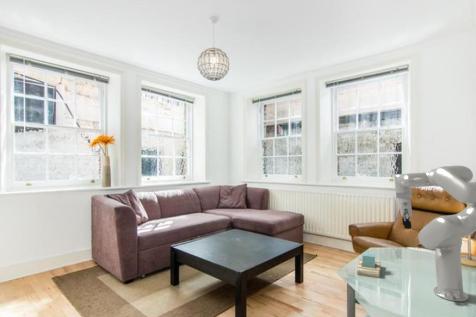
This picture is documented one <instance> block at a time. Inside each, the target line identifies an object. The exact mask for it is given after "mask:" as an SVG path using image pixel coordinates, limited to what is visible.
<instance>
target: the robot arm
mask: <svg viewBox="0 0 476 317" xmlns="http://www.w3.org/2000/svg"><path fill="white" fill-rule="evenodd" d="M393 177H394V178H393V180H394V187H395V188H394V189H395V196H396V199H397V200H398V203H399V204H398V206H399V211H400V214H401V217H402V218H401V220H402V221H401V222H402V225H403V228H404V229H407V230H408V229H409V230H411V229H412V221H411V218H413V210H412V208H413V207H412V201H411V199H413V195H412V194H413V193H412V188H424V187H425V188H426V187H440V188H441V189H442V190H444V191H445V192H446V193H448V194H449V196H451V197H452V198H453V199H455V200H456V201H457V202H460V203H462V204H468V206H466V207H465V208H464V209H463V210H461V211H460V212H458V213H455V214H451V215H450V214H448V215H441V216H437V217H435V218H434V219H432V220H431V221H430V222H428V223H427V224H426V225H424V227H422V229H421V230H420V231H419V232H418V235H417V236H418V237H417V238H418V241H419V244H421V246H422V247H424V248H425V249H427V250H435V253H434V262H435V274H436V276H435V277H436V287H434V288H433V293H434V294H435V296H437V297H439V298H442V299H445V300H447V301H452V302H461V303H462V302H467V301H469V295H468V294H467V293H466V292H465V291H464V284H463V269H462V254H461V252H462V246H463V238H464V237H469V236H470V235H472V234H474V233H475V232H476V181H472V180H473V178H474V174H473V172H472V170H471V169H470V168H469V167H467V166H464V165H447V166H446V165H445V166H440V167H438V168H434V169H431V170H430V171H426V172H413V173H411V172H409V173H399V174H395V175H394V176H393Z"/></svg>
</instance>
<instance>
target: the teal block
mask: <svg viewBox="0 0 476 317" xmlns="http://www.w3.org/2000/svg"><path fill="white" fill-rule="evenodd" d="M362 259H363V266H367V267H374V268H375V261H376V255H375V253H373V252H372V253H370V252H362Z"/></svg>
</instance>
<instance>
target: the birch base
mask: <svg viewBox="0 0 476 317" xmlns="http://www.w3.org/2000/svg"><path fill="white" fill-rule="evenodd" d="M381 263H382V262H381V261H378V260H375V268H374V267H367V266H363V258H360V260H359V263H358V265H357V268H356V273H357V276H363V277H369V278H370V277H371V278H377V279H380V276H381V275H380V274H381V268H382V264H381Z"/></svg>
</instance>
